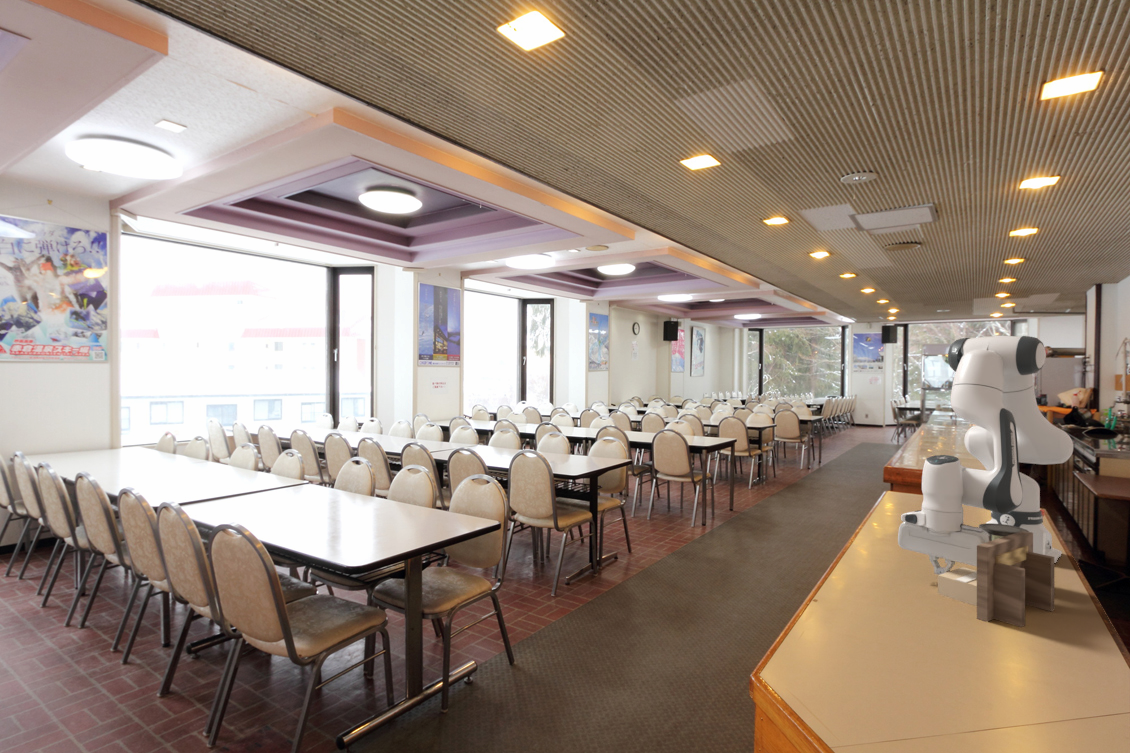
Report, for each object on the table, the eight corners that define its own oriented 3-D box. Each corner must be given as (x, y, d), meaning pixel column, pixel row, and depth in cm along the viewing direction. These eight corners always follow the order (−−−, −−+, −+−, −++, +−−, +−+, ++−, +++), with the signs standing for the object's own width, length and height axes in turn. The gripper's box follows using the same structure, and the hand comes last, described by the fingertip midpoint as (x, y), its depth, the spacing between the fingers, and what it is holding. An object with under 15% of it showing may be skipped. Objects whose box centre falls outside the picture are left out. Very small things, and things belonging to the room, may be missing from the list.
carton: (962, 586, 145) (962, 566, 145) (1008, 599, 137) (1008, 578, 137) (937, 595, 139) (937, 574, 139) (984, 610, 130) (984, 587, 130)
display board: (1020, 596, 138) (1020, 530, 138) (1059, 606, 132) (1059, 537, 132) (974, 617, 125) (974, 545, 125) (1014, 630, 119) (1014, 553, 119)
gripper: (995, 527, 137) (995, 585, 137) (907, 510, 154) (907, 562, 154) (984, 531, 133) (983, 590, 133) (894, 513, 151) (894, 566, 151)
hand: (942, 575), depth 144 cm, fingers closed
